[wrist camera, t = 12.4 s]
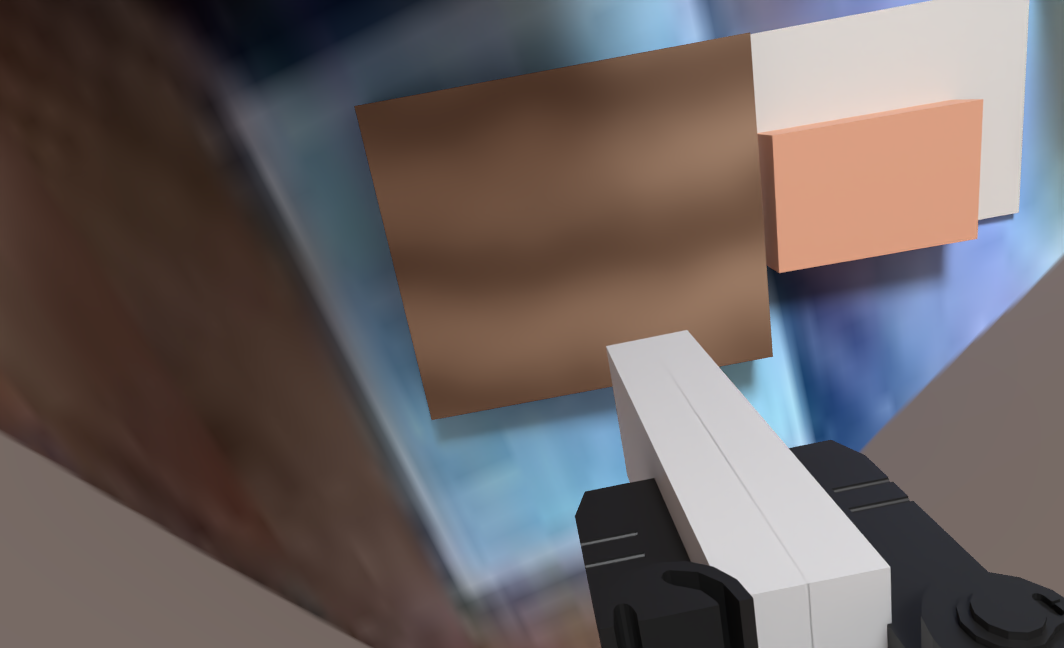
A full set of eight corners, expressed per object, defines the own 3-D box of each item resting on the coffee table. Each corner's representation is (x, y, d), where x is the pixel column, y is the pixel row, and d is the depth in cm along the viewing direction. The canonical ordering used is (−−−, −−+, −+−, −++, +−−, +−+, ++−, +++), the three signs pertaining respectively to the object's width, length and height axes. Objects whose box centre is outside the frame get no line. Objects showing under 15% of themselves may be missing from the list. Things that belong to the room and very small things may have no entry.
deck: (365, 106, 29) (354, 106, 27) (729, 38, 29) (750, 32, 27) (435, 397, 34) (431, 420, 31) (752, 338, 34) (772, 356, 31)
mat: (729, 38, 29) (731, 37, 29) (1024, -17, 29) (1029, -18, 29) (746, 261, 32) (749, 262, 32) (1014, 211, 32) (1018, 212, 32)
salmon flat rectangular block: (762, 263, 32) (779, 273, 30) (754, 133, 30) (772, 135, 28) (948, 230, 32) (977, 238, 30) (952, 99, 30) (983, 99, 28)
